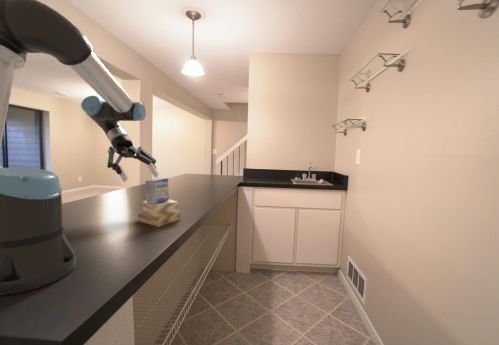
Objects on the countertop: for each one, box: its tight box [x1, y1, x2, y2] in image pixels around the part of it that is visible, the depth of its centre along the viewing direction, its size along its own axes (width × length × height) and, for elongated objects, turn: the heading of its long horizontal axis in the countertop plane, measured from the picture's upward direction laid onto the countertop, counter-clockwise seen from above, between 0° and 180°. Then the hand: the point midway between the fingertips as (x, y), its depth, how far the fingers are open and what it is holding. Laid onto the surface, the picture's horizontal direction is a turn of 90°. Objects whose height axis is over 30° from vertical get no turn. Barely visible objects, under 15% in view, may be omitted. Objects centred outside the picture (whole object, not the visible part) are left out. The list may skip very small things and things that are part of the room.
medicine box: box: [145, 177, 170, 204], centre depth 88 cm, size 8×4×9 cm, turn 165°
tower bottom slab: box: [137, 210, 181, 228], centre depth 90 cm, size 10×12×4 cm
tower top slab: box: [141, 198, 179, 217], centre depth 89 cm, size 9×11×4 cm
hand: (142, 177), depth 94 cm, fingers open, 13 cm apart
